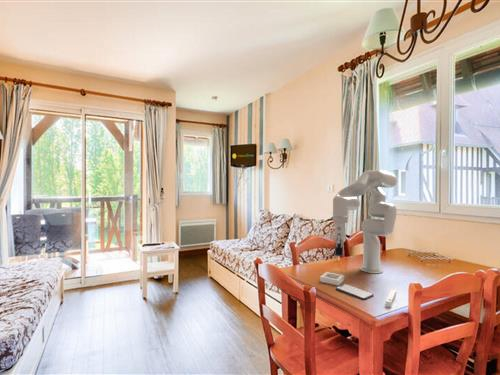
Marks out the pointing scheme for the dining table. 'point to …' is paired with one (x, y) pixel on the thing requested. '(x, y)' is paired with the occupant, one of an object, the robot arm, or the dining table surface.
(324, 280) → the white square shallow tray
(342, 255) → the plug
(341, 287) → the phone case
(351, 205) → the robot arm
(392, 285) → the dining table surface
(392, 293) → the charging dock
